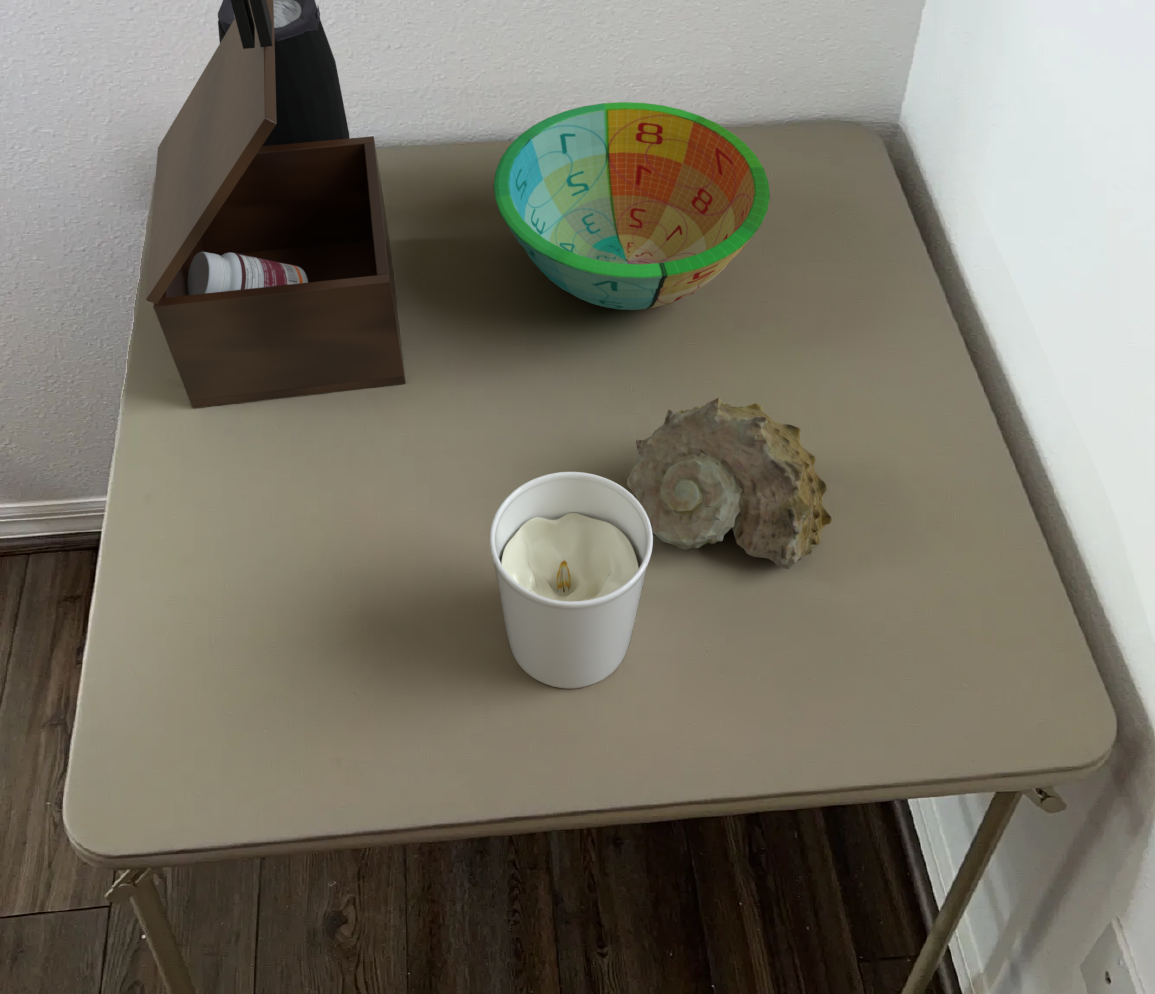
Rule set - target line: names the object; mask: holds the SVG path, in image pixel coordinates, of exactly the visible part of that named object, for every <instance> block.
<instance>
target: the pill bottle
mask: <svg viewBox="0 0 1155 994" xmlns="http://www.w3.org/2000/svg"><path fill="white" fill-rule="evenodd" d="M300 283H308V279H307V276H306V274H305V272H304V271H303V269H301V268H300V267H298V266H294V265H289V264H283V263H279V262H274V261H270V260H265V259H261V258H256V257H251V256H247V255H242V254H237V253H225V254H223V255H222V256H220V255H217V254H213V253H207V252H199V253H197V254H196V255H195V257H194V258H193V260H192V262H191V265H190V268H189V272H188V281H187V286H188V294H189V295H195V294H205V293H214V292H224V291H233V290H243V289H252V288H262V287H271V286H281V285H290V284H300Z"/></svg>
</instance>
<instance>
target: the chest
mask: <svg viewBox="0 0 1155 994" xmlns="http://www.w3.org/2000/svg"><path fill="white" fill-rule="evenodd" d="M377 154H378V153H377V147H376V141H375V136H372V135H371V136H370V135H369V136H361V137H360V136H359V137H349V138H348V139H337V140H327V141H316V142H305V143H294V144H283V145H272V146H262V147H261V148H260V150H259V151H258V153H257V154H256V156H255V157H254V159H253V160H252V162H251V163H250V165H249V166H248V168H247V169H246V171H245V172H244V174H243V175H242V177H241V178H240V180H239V181H238V183H237V184H236V186H235V187H234V189H233V190H232V192H231V193H230V195H229V196H228V198H227V199H226V201H225V202H224V204H223V205H222V207H221V208H220V210H219V211H218V213H217V214H216V216H215V217H214V219H213V220H212V222H211V223H210V225H209V226H208V228H207V229H206V231H205V232H204V234H203V235H202V237H201V238H200V240H199V241H198V243H197V244H196V246H195V247H194V249H193V250H192V252H191V253H190V255H189V256H188V258H187V259H186V261H185V262H184V264H183V265H182V267H181V268H180V270H179V271H178V273H177V274H176V276H175V277H174V279H173V281H172V282H171V284H170V285H169V287H168V288H167V290H166V291H165V293H164V294H163V296H162V297H161V299H160V300H159V302H158V303H157V304H155V303H153V305H152V307H153V310H154V313H155V316H156V318H157V321H158V323H159V326H160V329H161V331H162V334H163V336H164V339H165V341H166V343H167V346H168V349H169V352H170V354H171V357H172V359H173V362H174V364H175V367H176V370H177V372H178V374H179V378H180V380H181V383H182V385H183V389H184V390H185V392H186V396H187V398H188V400H189V403H190V405H191V408H192V409H199V408H209V407H217V406H225V405H233V404H234V405H235V404H242V403H243V404H244V403H251V402H261V401H268V400H269V401H270V400H278V399H285V398H295V397H303V396H310V395H320V394H328V393H336V392H345V391H353V390H362V389H371V388H380V387H389V386H395V385H396V386H397V385H405V384H406V382H407V381H406V373H405V365H404V355H403V346H402V338H401V337H402V336H401V330H400V320H399V319H400V318H399V312H398V304H397V292H396V285H395V276H394V267H393V266H394V265H393V258H392V249H391V241H390V240H391V239H390V234H389V227H388V221H387V215H386V207H385V200H384V195H383V186H382V180H381V173H380V167H379V160H378V156H377ZM199 252H207V253H213V254H217V255H220V256H222V255H223V254H225V253H237V254H242V255H247V256H251V257H256V258H261V259H265V260H270V261H274V262H279V263H283V264H289V265H294V266H298V267H300V268H301V269H303V271H304V272H305V274H306V276H307V279H308V283H300V284H290V285H281V286H271V287H262V288H252V289H243V290H233V291H224V292H214V293H205V294H195V295H189V294H188V286H187V281H188V272H189V268H190V265H191V262H192V260H193V258H194V257H195V255H196V254H197V253H199Z"/></svg>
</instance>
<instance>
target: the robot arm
mask: <svg viewBox="0 0 1155 994" xmlns="http://www.w3.org/2000/svg"><path fill="white" fill-rule="evenodd" d="M249 1H250V4H249ZM231 3H232V7H233V11H234V15H235V19H236V23H237V27H238V30H239V34H240V38H241V42H242V46H243V49H248V48H255V25H256V30H257V34H258V38H259V42H260V46H261V47H269V46H272V22H271V18H270V14H269V9H268V5H267V1H266V0H231ZM250 5H251V8H250ZM251 9H252V12H251ZM252 13H253V16H252ZM253 17H254V21H255V25H254V21H253Z"/></svg>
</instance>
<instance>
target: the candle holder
mask: <svg viewBox="0 0 1155 994" xmlns="http://www.w3.org/2000/svg"><path fill="white" fill-rule="evenodd" d="M488 540H489V550H490V555H491V558H492V561H493V565H494V570H495V575H496V576H495V577H496V582H497V587H498V592H499V598H500V603H501V609H502V615H503V620H504V624H505V625H504V626H505V631H506V636H507V639H508V645H509V648H510V651H511V654H512V655H513V657H514V659H515V661H516V662H517V664H518V665H519V666H520V668H521V669H522V670H523V671H524V672H525V673H526V674H527V675H528V676H530V677H531V678H533V679H534V680H536V681H538V682H540V683H542V684H544V685H547V686H550V687H553V688H559V689H579V688H585V687H589V686H592V685H595V684H598V683H600V682H601V681H603V680H605V679H607V677H609V676H610V675H611V674H613V673H614V672H615V671H616V670H617V669H618V667H619V666H620V665H621V664H622V662H623V661H624V659H625V657H626V655H627V652H628V650H629V647H630V644H631V640H632V635H633V632H634V628H635V623H636V619H637V614H638V610H639V605H640V601H641V598H642V597H641V596H642V592H643V587H644V582H645V579H646V573H647V571H648V570H647V569H648V565H649V562H650V560H651V556H652V552H653V547H654V533H653V532H652V528H651V524H650V521H649V518H648V516H647V514H646V512H645V510H644V508H643V507H642V505H641V504H640V503H639V501H638V500H637V499H636V497H635V495H633V494H632V493H631V492H630V491H628V490H627V489H626V488H625V487H623V486H622V485H621V484H618V483H617V482H615V481H613V480H611V479H609V478H606V477H604V476H601V475H597V474H594V473H588V472H581V471H559V472H553V473H548V474H544V475H540V476H537V477H535V478H533V479H531V480H529V481H527V482H525V483H522V484H521V485H520V486H518V487H517V488H515V489H514V490H513V491H511V493H509V494H508V495H507V496H506V497H505V499H504V500H503V501H502V502H501V504H500V505H499V507H498V508H497V510H496V511H495V514H494V516H493V518H492V521H491V525H490V529H489V539H488Z"/></svg>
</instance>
